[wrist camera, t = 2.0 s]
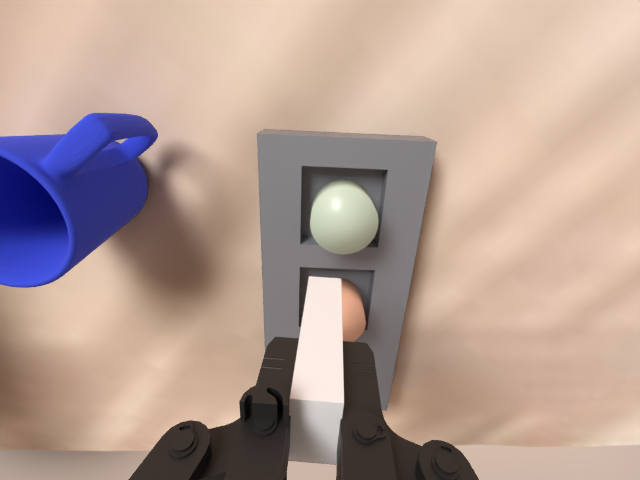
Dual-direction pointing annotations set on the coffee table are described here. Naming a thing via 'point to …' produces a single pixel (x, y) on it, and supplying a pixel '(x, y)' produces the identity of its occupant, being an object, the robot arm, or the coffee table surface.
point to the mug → (68, 194)
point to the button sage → (343, 217)
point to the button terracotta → (351, 311)
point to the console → (360, 267)
